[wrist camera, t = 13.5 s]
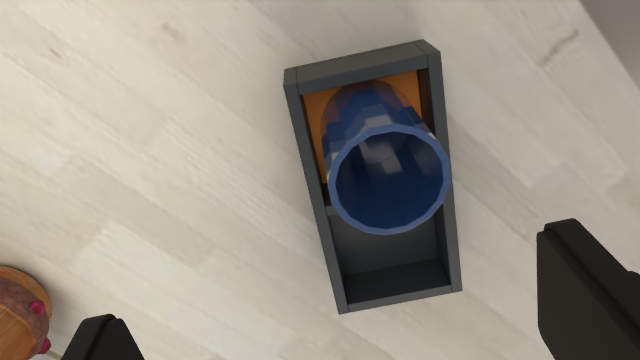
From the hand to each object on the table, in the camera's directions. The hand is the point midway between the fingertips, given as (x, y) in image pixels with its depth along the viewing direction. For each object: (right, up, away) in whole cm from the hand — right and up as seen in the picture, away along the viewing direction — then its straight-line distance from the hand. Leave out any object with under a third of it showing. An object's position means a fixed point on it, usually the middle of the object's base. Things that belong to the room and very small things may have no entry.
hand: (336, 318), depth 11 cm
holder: (+4, +4, +25) cm, 26 cm away
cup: (+3, +7, +23) cm, 24 cm away
